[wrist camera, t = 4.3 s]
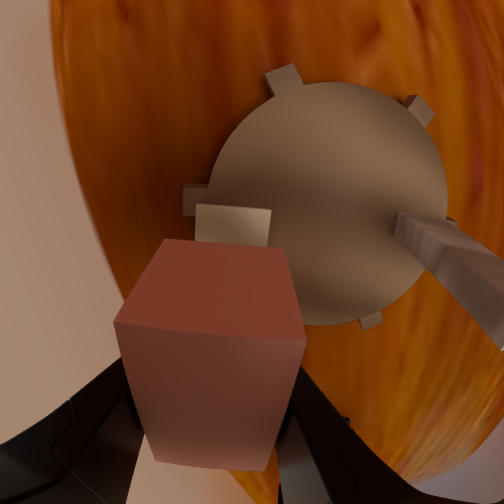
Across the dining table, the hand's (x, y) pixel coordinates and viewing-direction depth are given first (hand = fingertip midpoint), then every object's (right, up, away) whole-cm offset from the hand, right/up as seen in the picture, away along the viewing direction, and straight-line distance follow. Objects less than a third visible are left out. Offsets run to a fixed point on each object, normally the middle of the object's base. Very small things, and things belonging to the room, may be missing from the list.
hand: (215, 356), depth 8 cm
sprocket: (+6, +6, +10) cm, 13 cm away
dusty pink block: (0, +1, +1) cm, 2 cm away
